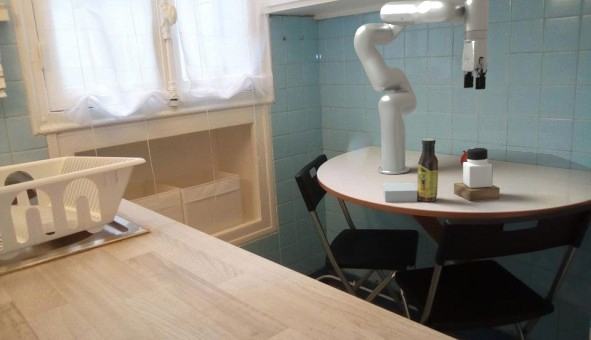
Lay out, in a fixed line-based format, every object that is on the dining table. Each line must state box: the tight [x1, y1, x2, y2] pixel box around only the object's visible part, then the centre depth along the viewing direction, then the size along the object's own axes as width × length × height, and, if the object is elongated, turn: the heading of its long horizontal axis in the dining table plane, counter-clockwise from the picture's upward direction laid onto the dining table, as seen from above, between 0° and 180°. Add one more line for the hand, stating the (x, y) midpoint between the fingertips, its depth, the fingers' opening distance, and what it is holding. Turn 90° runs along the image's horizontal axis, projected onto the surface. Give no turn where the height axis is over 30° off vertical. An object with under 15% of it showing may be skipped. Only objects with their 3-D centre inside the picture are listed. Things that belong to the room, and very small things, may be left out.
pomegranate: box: [460, 150, 468, 166], centre depth 191 cm, size 7×7×10 cm
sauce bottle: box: [416, 137, 439, 203], centre depth 150 cm, size 7×6×20 cm
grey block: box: [382, 182, 418, 203], centre depth 156 cm, size 10×10×4 cm
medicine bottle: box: [462, 147, 494, 188], centre depth 151 cm, size 7×7×12 cm
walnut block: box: [453, 182, 501, 203], centre depth 153 cm, size 10×10×4 cm
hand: (474, 88), depth 162 cm, fingers open, 9 cm apart
